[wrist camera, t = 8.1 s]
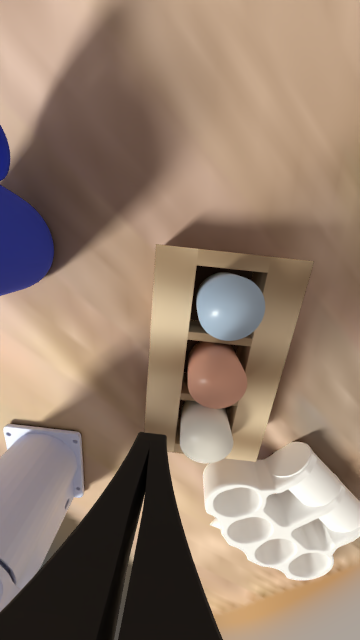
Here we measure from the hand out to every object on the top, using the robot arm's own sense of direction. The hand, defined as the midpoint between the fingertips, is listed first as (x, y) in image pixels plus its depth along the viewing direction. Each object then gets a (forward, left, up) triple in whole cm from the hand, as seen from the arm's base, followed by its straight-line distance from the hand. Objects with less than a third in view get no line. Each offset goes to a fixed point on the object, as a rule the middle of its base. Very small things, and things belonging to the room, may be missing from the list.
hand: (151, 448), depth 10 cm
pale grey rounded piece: (-4, -4, -7) cm, 9 cm away
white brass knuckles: (-16, -14, -10) cm, 23 cm away
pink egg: (+1, -4, -7) cm, 8 cm away
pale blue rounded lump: (+7, -4, -7) cm, 10 cm away
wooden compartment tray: (+1, -4, -9) cm, 10 cm away
